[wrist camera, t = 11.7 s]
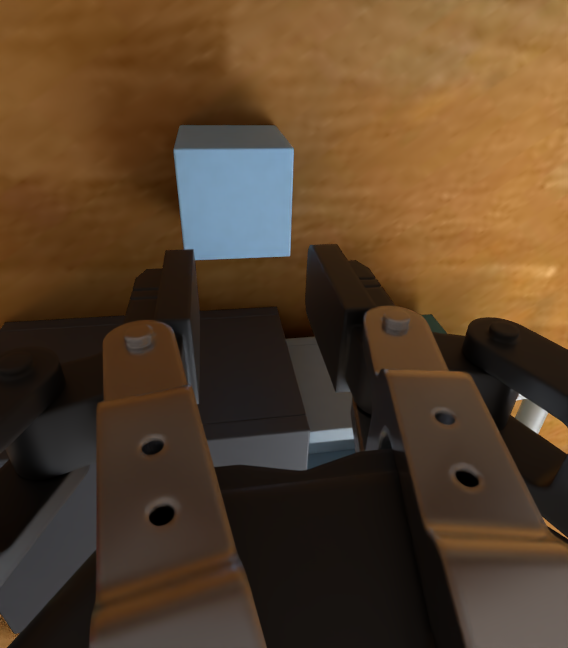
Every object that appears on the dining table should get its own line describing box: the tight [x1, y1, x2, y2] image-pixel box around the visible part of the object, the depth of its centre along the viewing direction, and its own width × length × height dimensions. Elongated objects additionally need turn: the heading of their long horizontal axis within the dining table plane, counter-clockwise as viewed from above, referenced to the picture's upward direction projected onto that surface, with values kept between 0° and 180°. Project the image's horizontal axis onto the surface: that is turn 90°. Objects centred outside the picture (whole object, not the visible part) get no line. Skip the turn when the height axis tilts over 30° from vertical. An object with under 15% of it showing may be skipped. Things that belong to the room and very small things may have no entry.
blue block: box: [173, 125, 294, 260], centre depth 19 cm, size 4×4×5 cm
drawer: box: [286, 314, 548, 469], centre depth 26 cm, size 19×12×8 cm, turn 88°
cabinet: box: [0, 307, 310, 634], centre depth 24 cm, size 15×13×10 cm
